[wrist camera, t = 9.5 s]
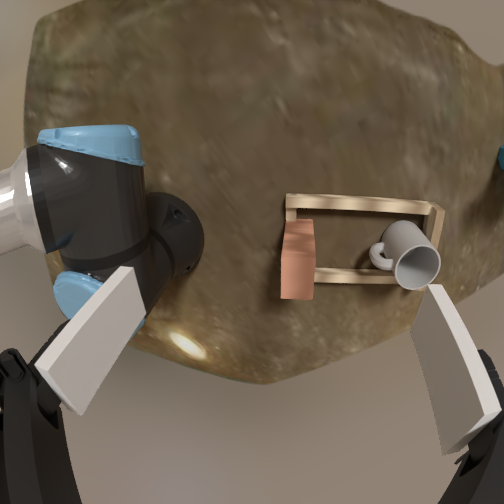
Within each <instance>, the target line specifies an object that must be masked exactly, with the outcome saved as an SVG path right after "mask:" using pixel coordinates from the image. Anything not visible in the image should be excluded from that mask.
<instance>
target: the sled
mask: <svg viewBox="0 0 504 504" xmlns="http://www.w3.org/2000/svg"><path fill="white" fill-rule="evenodd" d="M296 208H321V209H345V210H365V211H382V212H397V213H411V214H423V215H425V217H424V222H423V228H422V233H423V234H424V235H425V236H426V238H427V239H428V240H429V241H430V243H431V244H432V245H433V246H434V248H435V249H436V250H437V247H438V243H439V239H440V234H441V230H442V225H443V220H444V215H445V211H444V210H443V209H442V208H441V207H440V206H438V205H437V204H436V203H435V202H426V201H416V200H405V199H392V198H379V197H363V196H345V195H323V194H288V193H286V225H285V233H284V240H283V248H282V255H281V299H306V300H312V299H313V288H314V282H329V283H370V284H399V283H398V282H397V280H396V278H395V276H394V274H393V271H392V270H374V269H339V268H315V263H316V253H315V241H314V230H313V219H296ZM426 287H427V286H425V287H423V288H421V289H417V290H418V291H425V290H426Z"/></svg>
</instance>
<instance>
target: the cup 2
mask: <svg viewBox="0 0 504 504" xmlns="http://www.w3.org/2000/svg"><path fill="white" fill-rule="evenodd" d="M498 160H499V163H500V167H501V169H502V170H504V145H502V146H501V147H500V150H499V155H498Z"/></svg>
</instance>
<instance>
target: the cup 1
mask: <svg viewBox="0 0 504 504" xmlns="http://www.w3.org/2000/svg"><path fill="white" fill-rule="evenodd" d="M383 252H384V255H385V257H386V259H385V258H383V257H381V256H380V254H379V253H383ZM369 257H370V259H371V261H372V263H373V264H374V265H375V266H376V267H378V268H380V269H382V270H392V271H393V274H394V276H395V278H396V280H397V282H398V283H399V284H400V286H402V287H403V288H405V289H409V290H417V289H421V288H423V287H425V286H427V284H429V283H431V282H432V281H433V280H434V278H435V277H436V276H437V274H438V272H439V269H440V265H441V259H440V255H439V253H438V252H437V250H436V249H435V248H434V246H433V245H432V244H431V243H430V241H429V240H428V239H427V238H426V236H425V235H424V234H423V233H422V231H421V230H420V229H419V228H418V227H417V226H416V225H415V224H414V223H412V222H410V221H405V220H401V221H397V222H395V223H393V224H391V225H390V226H389V227H388V228H387V229H386V230H385V232H384V234H383V236H382V241H381V243H376V244H374V245H373V246H372V247H371V249H370V251H369Z"/></svg>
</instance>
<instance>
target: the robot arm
mask: <svg viewBox="0 0 504 504" xmlns="http://www.w3.org/2000/svg"><path fill="white" fill-rule="evenodd" d="M37 141H38V143H40V144H38V145H35V146H32V147H28V148H25V149H23V151H22V153H21V154H20V156H19V157H18V159H17V160H16V162H15V164H14V165H13V166H12V167H11V168H8V169H5V170H2V171H0V256H2V255H5V254H7V253H10V252H12V251H15V250H18V249H20V248H23V247H25V246H28V247H31V248H33V249H35V250H37V251H38V252H40V253H42V254H44V255H45V254H48V253H50V252H53V251H56V250H59V252H60V256H61V259H62V263H63V266H64V272H61V273H60V274H59V275H58V276H57V279H56V281H55V284H54V287H53V291H54V296H55V299H56V302H57V304H58V306H59V307H60V309H61V311H62V312H63V313H64V315H65V316H66V317H67V318H68V319H69V320H67V321H66V322H65V323H63V324H61V325H60V326H59V327H58V329H57V330H56V331H55V332H54V335H52V336H51V337H50V338H49V339H48V342H46V343H45V344H44V345H43V346H42V348H41V349H40V350H39V352H38V353H37V354H36V355H35V356H34V358H33V359H32V360H31V361H30V363H29V364H28V365H27V364H26V362H25V360H24V359H23V357H22V356H21V355H20V353H19V352H18V350H17V349H14V348H10V349H7V350H5V351H3V352H2V353H1V354H0V408H1V412H0V504H82V502H81V499H80V495H79V492H78V489H77V485H76V482H75V478H74V474H73V470H72V466H71V461H70V458H69V452H68V447H67V443H66V436H65V431H64V424H63V418H62V411H61V408H60V407H59V405H60V403H61V402H62V403H63V404H64V405H65V406H66V407H67V409H68V410H70V411H72V412H74V413H76V414H78V415H81V416H82V415H83V413H84V412H85V410H86V408H87V407H88V404H89V403H90V402H91V400H92V398H93V397H94V395H95V393H96V392H97V390H98V388H99V387H100V385H101V383H102V381H103V380H104V378H105V377H106V375H107V373H108V372H109V370H110V369H111V367H112V365H113V364H114V362H115V360H116V359H117V357H118V356H119V354H120V353H121V351H122V349H123V348H124V346H125V345H126V343H127V342H128V341H129V340H130V339H132V338H133V336H134V335H135V334H136V333H137V331H138V330H139V329H140V328H141V327H143V325H144V323H145V320H146V318H147V317H148V315H149V313H150V312H151V310H152V309H153V307H154V306H155V304H156V303H157V301H158V300H159V298H160V297H161V295H162V294H163V292H164V291H165V289H166V288H167V286H168V284H169V283H170V281H172V280H174V279H176V278H178V277H179V276H181V275H183V274H185V273H186V272H188V271H189V270H190V269H191V268H192V267H193V266H194V265H195V263H196V262H197V260H198V259H199V257H200V255H201V253H202V250H203V246H204V233H203V228H202V225H201V223H200V221H199V219H198V217H197V215H196V214H195V212H194V211H193V210H192V209H191V208H190V206H189V205H187V204H186V203H185V202H184V201H182V200H181V199H179V198H177V197H175V196H173V195H170V194H167V193H160V192H155V193H149V194H146V195H145V185H144V169H143V166H145V164H144V162H143V159H142V152H141V141H140V136H139V133H138V132H137V130H136V129H135V128H133V127H132V126H129V125H95V126H78V127H66V128H56V129H45V130H42V131H41V132H40V133H39V137H38V139H37ZM410 333H411V336H412V339H413V342H414V345H415V348H416V351H417V354H418V357H419V361H420V364H421V367H422V370H423V374H424V377H425V381H426V384H427V388H428V391H429V395H430V400H431V404H432V407H433V412H434V416H435V420H436V425H437V430H438V434H439V440H440V445H441V450H442V455H446V454H450V453H454V452H458V451H460V450H461V449H462V448H463V447H464V446H466V445H467V444H468V447H469V450H468V451H467V452H466V453H465V454H464V455H462V456H461V457H460V458H459V459H457V461H456V462H455V463H454V464H458V463H459V462H460V461H462V462H461V464H460V466H459V468H458V470H457V472H456V473H455V475H454V477H453V479H452V481H451V483H450V485H449V486H448V488H447V490H446V491H445V493H444V495H443V496H442V498H441V500H440V501H439V502H438V504H504V387H503V384H502V382H501V380H500V379H499V375H498V373H497V371H495V366H494V364H493V362H492V360H491V358H490V357H489V356H488V355H487V354H486V352H485V351H483V349H482V350H477V349H476V347H475V345H474V343H473V341H472V339H471V337H470V335H469V333H468V331H467V329H466V327H465V325H464V323H463V321H462V320H461V318H460V316H459V314H458V312H457V311H456V309H455V307H454V305H453V303H452V302H451V300H450V298H449V297H448V295H447V293H446V291H445V290H444V288H443V287H442V285H432V284H427V287H426V290H425V293H424V296H423V299H422V301H421V304H420V307H419V310H418V313H417V315H416V318H415V321H414V323H413V326H412V328H411V331H410Z"/></svg>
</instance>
